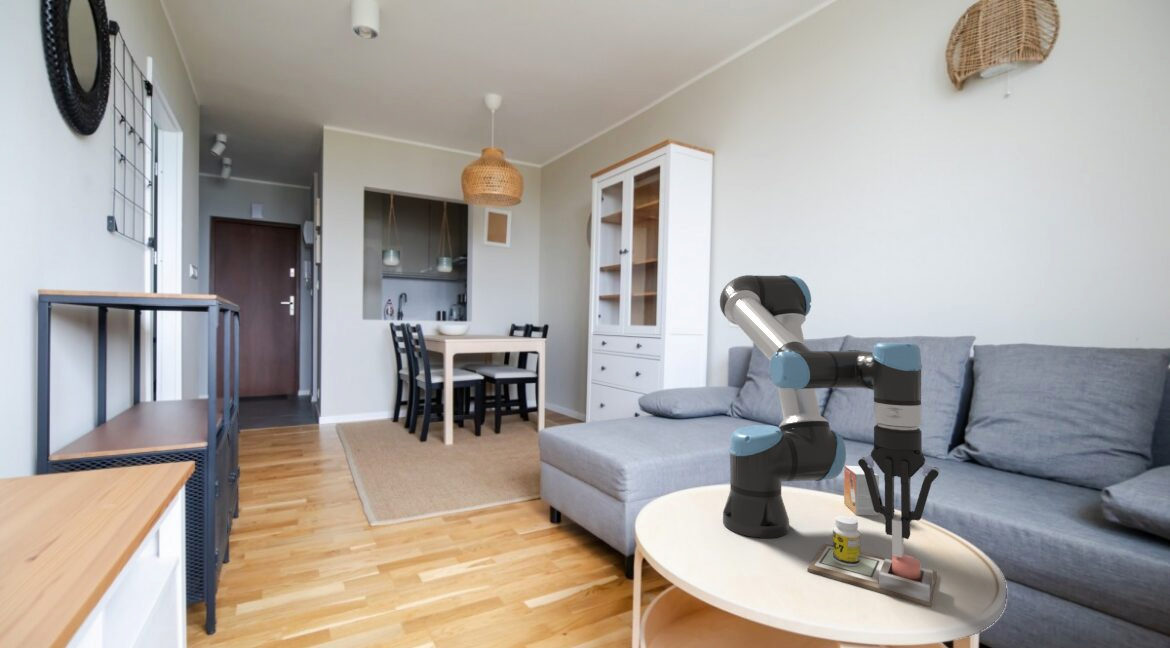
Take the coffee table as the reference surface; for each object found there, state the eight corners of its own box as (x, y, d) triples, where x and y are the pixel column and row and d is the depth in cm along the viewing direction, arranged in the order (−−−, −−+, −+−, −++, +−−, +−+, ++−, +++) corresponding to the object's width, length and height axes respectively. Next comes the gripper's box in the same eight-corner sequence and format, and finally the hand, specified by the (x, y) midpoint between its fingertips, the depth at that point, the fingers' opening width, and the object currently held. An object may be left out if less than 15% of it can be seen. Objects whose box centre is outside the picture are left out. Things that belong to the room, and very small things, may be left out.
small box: (843, 504, 136) (843, 465, 136) (865, 505, 135) (865, 465, 135) (855, 515, 128) (855, 473, 128) (879, 516, 127) (879, 474, 127)
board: (807, 571, 99) (807, 555, 99) (825, 546, 110) (825, 531, 110) (930, 607, 87) (930, 588, 87) (936, 575, 98) (936, 558, 98)
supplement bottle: (828, 556, 104) (828, 515, 104) (850, 555, 104) (850, 514, 104) (842, 567, 99) (842, 524, 99) (864, 566, 99) (865, 523, 99)
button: (890, 577, 92) (890, 560, 92) (893, 567, 96) (893, 552, 96) (919, 584, 89) (919, 567, 89) (921, 575, 93) (921, 558, 93)
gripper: (853, 424, 95) (854, 551, 95) (938, 433, 87) (939, 572, 86) (861, 419, 101) (862, 538, 100) (941, 427, 93) (942, 556, 92)
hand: (897, 553), depth 93 cm, fingers closed
